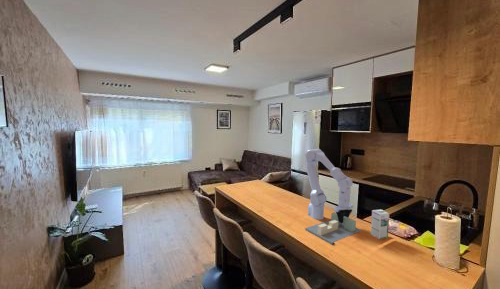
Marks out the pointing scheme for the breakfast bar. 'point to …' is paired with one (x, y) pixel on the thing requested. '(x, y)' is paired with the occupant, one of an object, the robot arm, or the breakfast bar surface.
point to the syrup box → (380, 224)
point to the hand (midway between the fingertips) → (343, 221)
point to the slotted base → (332, 234)
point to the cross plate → (345, 222)
